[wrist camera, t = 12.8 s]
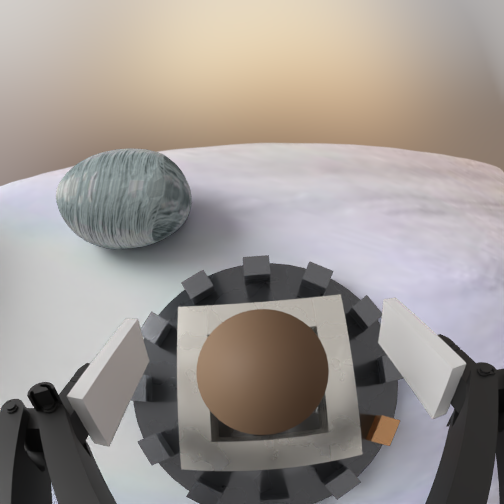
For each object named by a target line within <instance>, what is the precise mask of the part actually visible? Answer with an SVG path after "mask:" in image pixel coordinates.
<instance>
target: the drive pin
mask: <svg viewBox="0 0 504 504" xmlns="http://www.w3.org/2000/svg"><path fill="white" fill-rule="evenodd" d="M196 375H197V384H198V388H199V392H200V394H201V397H202V399H203V401H204V403H205V404H206V406H207V407H208V409H209V410H210V411H211V413H212V414H213V415H214V416H215V417H216V418H217V419H219V420H220V421H221V422H223V423H224V424H226V425H227V426H229V427H231V428H233V429H235V430H238V431H240V432H244V433H248V434H255V435H269V434H276V433H280V432H283V431H286V430H289V429H291V428H293V427H295V426H297V425H298V424H300V423H301V422H303V421H304V420H305V419H307V418H308V417H309V416H310V415H311V414H312V413H313V412H314V410H315V409H316V408H317V406H318V405H319V403H320V402H321V400H322V398H323V396H324V393H325V390H326V387H327V383H328V375H329V368H328V360H327V355H326V352H325V349H324V347H323V345H322V343H321V341H320V339H319V338H318V337H317V335H316V334H315V333H314V331H313V330H312V329H311V328H310V327H309V326H308V325H306V324H305V323H304V322H303V321H301V320H299V319H298V318H296V317H294V316H292V315H290V314H287V313H284V312H281V311H277V310H270V309H256V310H249V311H245V312H242V313H239V314H237V315H234V316H232V317H230V318H229V319H227V320H225V321H224V322H222V323H221V324H220V325H219V326H218V327H216V328H215V329H214V330H213V331H212V333H211V334H210V335H209V336H208V338H207V339H206V341H205V342H204V344H203V346H202V349H201V351H200V354H199V357H198V362H197V372H196Z"/></svg>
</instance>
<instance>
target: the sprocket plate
mask: <svg viewBox="0 0 504 504" xmlns="http://www.w3.org/2000/svg"><path fill="white" fill-rule="evenodd" d="M332 273H333V271H332V270H329V269H327V268H324V267H322V266H319V265H317V264H314V263H312V262H309V264H308V267H307V269H305V268H300V267H296V266H291V265H284V264H273V263H269V255H268V256H254V257H243V266H238V267H234V268H230V269H226V270H223V271H220V272H217V273H215V274H212V275H210V276H207V275H206V273H205V272H204V270H202V271H200V272H199V273H197V274H195V275H193V276H192V277H190V278H188V279H187V280H185V281H183V282H182V285H183V287H184V288H185V290H184V291H183V292H181V293H180V294H179V295H178V296H177V297H176V298H174V299H173V300H172V301H171V302H170V303H169V304H168V305H167V306H166V307H165V308H164V310H163V311H162V312H161V313H160V314H159V315H156V314H155V313H153V312H151V313H150V315H149V316H148V318H147V320H146V321H145V323H144V325H143V326H142V328H141V333H142V336H143V337H144V344H145V347H146V351H147V354H148V358H149V363H148V365H147V367H146V369H145V371H144V373H143V375H142V377H141V379H140V381H139V383H138V385H137V387H136V389H135V392H134V394H133V396H132V398H131V400H132V401H134V408H135V413H136V418H137V422H138V425H139V428H140V430H141V433H142V436H143V438H144V439H142V440H140V441H138V444H139V445H140V447H141V449H142V450H143V452H144V454H145V455H146V457H147V458H148V460H149V462H150V463H151V465H154V464H156V463H159V464H160V465H161V466H162V467H163V469H164V470H165V471H166V472H167V473H168V474H169V475H170V476H171V477H172V478H173V479H174V480H176V481H177V482H178V483H179V484H181V485H182V486H183V487H185V488H186V489H187V490H189V491H190V492H189V493H188V495H187V496H186V497H188V498H190V499H192V500H194V501H196V502H198V503H200V504H314V503H316V502H318V501H321V500H323V499H325V498H327V497H329V496H331V495H333V496H334V497H335V498H336V499H338V498H340V497H341V496H343V495H344V494H346V493H347V492H348V491H350V490H351V489H353V488H354V487H355V486H357V485H358V484H359V483H361V482H360V481H359V479H358V478H357V476H359V475H360V474H361V472H362V471H363V470H364V469H365V468H366V467H367V466H368V465H369V464H370V463H371V461H372V460H373V458H374V457H375V456H376V454H377V453H378V451H379V450H380V448H381V446H382V445H387V446H390V444H391V442H392V440H393V437H394V435H395V432H396V430H397V427H398V425H399V422H400V420H396V419H393V418H394V414H395V409H396V403H397V391H398V380H399V379H402V378H403V376H402V375H401V373H400V372H399V371H398V369H397V368H396V366H395V365H394V364H393V362H392V361H391V360H390V358H389V357H388V355H387V354H386V353H385V351H384V350H383V349H382V347H381V346H380V345H379V343H378V340H379V333H380V326H381V325H380V323H379V322H378V319H379V318H380V317H381V316H382V313H381V311H380V310H379V309H378V308H377V307H376V305H375V304H374V303H373V302H372V301H371V300H370V298H369V297H368V296H367V295H366V296H365V297H364V298H363V299H362V300H360V299H359V298H358V297H356V296H355V295H354V294H353V293H351V292H350V291H349V290H348V289H347V288H345V287H343V286H342V285H340V284H339V283H337V282H335V281H334V280H332V279H330V278H331V276H332ZM256 309H270V310H277V311H281V312H284V313H287V314H290V315H292V316H294V317H296V318H298V319H299V320H301V321H303V322H304V323H305V324H306V325H308V326H309V327H310V328H311V329H312V330H313V331H314V333H315V334H316V335H317V337H318V338H319V339H320V341H321V343H322V345H323V347H324V349H325V352H326V355H327V360H328V368H329V375H328V383H327V387H326V390H325V393H324V396H323V398H322V400H321V402H320V403H319V405H318V406H317V408H316V409H315V410H314V412H313V413H312V414H311V415H310V416H309V417H308V418H307V419H305V420H304V421H303V422H301V423H300V424H298V425H297V426H295V427H293V428H291V429H289V430H286V431H283V432H280V433H276V434H269V435H255V434H248V433H244V432H240V431H238V430H235V429H233V428H231V427H229V426H227V425H226V424H224V423H223V422H221V421H220V420H219V419H217V418H216V417H215V416H214V415H213V414H212V413H211V411H210V410H209V409H208V407H207V406H206V404H205V403H204V401H203V399H202V397H201V394H200V392H199V388H198V384H197V375H196V372H197V362H198V357H199V354H200V351H201V349H202V346H203V344H204V342H205V341H206V339H207V338H208V336H209V335H210V334H211V333H212V331H213V330H214V329H215V328H216V327H218V326H219V325H220V324H221V323H222V322H224V321H225V320H227V319H229V318H230V317H232V316H234V315H237V314H239V313H242V312H245V311H249V310H256Z"/></svg>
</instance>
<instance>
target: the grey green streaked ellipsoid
mask: <svg viewBox="0 0 504 504" xmlns="http://www.w3.org/2000/svg"><path fill="white" fill-rule="evenodd" d="M56 200H57V204H58V208H59V211H60V213H61V216H62V217H63V219H64V221H65V222H66V224H67V225H68V226H69V227H70V228H71V230H72V231H73V232H74V233H75V234H77V235H78V236H79V237H81V238H82V239H84V240H85V241H87V242H89V243H92V244H95V245H97V246H100V247H104V248H111V249H126V248H135V247H143V246H146V245H149V244H153V243H156V242H158V241H160V240H162V239H165V238H166V237H168V236H169V235H171V234H172V233H174V232H175V231H176V230H178V229H179V228H180V227H181V226H182V225H183V224H184V222H185V221H186V219H187V217H188V215H189V212H190V208H191V192H190V188H189V185H188V183H187V181H186V178H185V176H184V175H183V173H182V171H181V170H180V169H179V167H178V166H177V165H176V164H175V163H174V162H172V161H171V160H170V159H169V158H168V157H166V156H165V155H163V154H160V153H158V152H154V151H150V150H144V149H118V150H112V151H107V152H103V153H99V154H96V155H93V156H91V157H89V158H87V159H85V160H83V161H81V162H80V163H78V164H77V165H75V166H74V167H73V168H72V169H71V170H70V171H69V172H67V173H66V175H65V176H64V177H63V179H62V180H61V182H60V183H59V185H58V188H57V191H56Z"/></svg>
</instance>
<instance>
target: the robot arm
mask: <svg viewBox="0 0 504 504" xmlns="http://www.w3.org/2000/svg"><path fill="white" fill-rule="evenodd" d="M378 343H379V345H380V346H381V347H382V349H383V350H384V351H385V353H386V354H387V355H388V357H389V358H390V360H391V361H392V362H393V364H394V365H395V366H396V368H397V369H398V371H399V372H400V373H401V375H402V376H403V378H404V379H405V380H406V382H407V383H408V385H409V386H410V388H411V389H412V390H413V392H414V393H415V395H416V396H417V398H418V399H419V401H420V402H421V403H422V405H423V406H424V408H425V409H426V411H427V412H428V414H429V415H430V417H431V418H432V419H435V418H437V417H440V416H442V415H444V414H446V413H447V411H448V408H449V406H450V404H451V405H452V406H453V407H454V408H455V409H454V411H453V414H452V416H451V418H450V420H449V422H448V424H447V426H449V425H450V427H449V431H448V435H447V439H446V443H445V447H444V451H443V454H442V458H441V461H440V464H439V468H438V471H437V474H436V477H435V480H434V482H433V485H432V488H431V491H430V493H429V496H428V498H427V501H426V503H425V504H487V500H488V495H489V491H490V486H491V480H492V475H493V468H494V461H495V453H496V459H497V468H498V479H499V496H500V504H504V369H499V370H496V369H495V368H494V366H492V365H490V364H488V363H475V362H474V361H473V360H472V359H471V358H470V357H469V356H468V355H467V354H466V353H465V352H463V351H462V350H460V348H459V347H458V346H457V345H455V343H454V342H453V341H451V340H450V339H449V338H447V337H445V336H443V335H441V334H440V335H436V334H435V333H434V332H433V331H432V330H431V329H430V328H429V327H428V326H427V325H426V324H425V323H423V322H422V321H421V320H420V319H419V318H418V317H417V316H416V315H415V314H413V313H412V312H411V311H410V310H409V309H408V308H407V307H406V306H404V305H403V304H402V303H401V302H400V301H399V300H398V299H396V298H391V299H384V300H383V310H382V318H381V326H380V333H379V340H378ZM148 363H149V358H148V354H147V351H146V347H145V344H144V340H143V337H142V333H141V329H140V325H139V321H138V319H125V320H124V321H123V322H122V324H121V325H120V326H119V327H118V329H117V330H116V331H115V332H114V334H113V335H112V336H111V338H110V339H109V340H108V341H107V343H106V344H105V345H104V347H103V348H102V349H101V350H100V352H99V353H98V354H97V356H96V357H95V358H94V360H93V361H92V362H91V363H86V364H85V365H83V366H82V367H81V368H79V369H78V371H77V372H76V373H75V374H74V377H72V378H71V380H70V382H68V384H67V385H66V386H65V388H64V389H63V390H62V392H61V393H60V394H59V395H58V393H57V391H56V389H55V387H54V386H53V384H51V383H48V382H42V383H38V384H36V385H34V386H33V387H32V388H31V389H30V390H29V391H28V395H27V396H28V398H29V400H30V401H31V403H32V405H33V406H34V408H26V407H25V405H24V404H23V402H22V401H21V400H19V399H12V400H9V401H7V402H6V403H5V404H4V405H3V406H2V408H1V411H0V504H52V493H51V482H52V485H53V489H54V492H55V495H56V498H57V501H58V504H117V503H116V502H115V500H114V498H113V496H112V494H111V492H110V490H109V489H108V487H107V485H106V483H105V481H104V479H103V477H102V474H101V472H100V470H99V468H98V466H97V464H96V461H95V459H94V457H93V455H92V452H91V450H90V447H89V445H88V444H87V442H86V439H87V437H88V435H89V436H90V437H91V439H92V440H93V442H94V443H95V444H100V445H104V446H110V444H111V442H112V440H113V437H114V435H115V433H116V431H117V428H118V426H119V424H120V422H121V420H122V417H123V415H124V413H125V411H126V409H127V406H128V404H129V402H130V400H131V398H132V396H133V394H134V392H135V389H136V387H137V385H138V383H139V381H140V379H141V377H142V375H143V373H144V371H145V369H146V367H147V365H148Z"/></svg>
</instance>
